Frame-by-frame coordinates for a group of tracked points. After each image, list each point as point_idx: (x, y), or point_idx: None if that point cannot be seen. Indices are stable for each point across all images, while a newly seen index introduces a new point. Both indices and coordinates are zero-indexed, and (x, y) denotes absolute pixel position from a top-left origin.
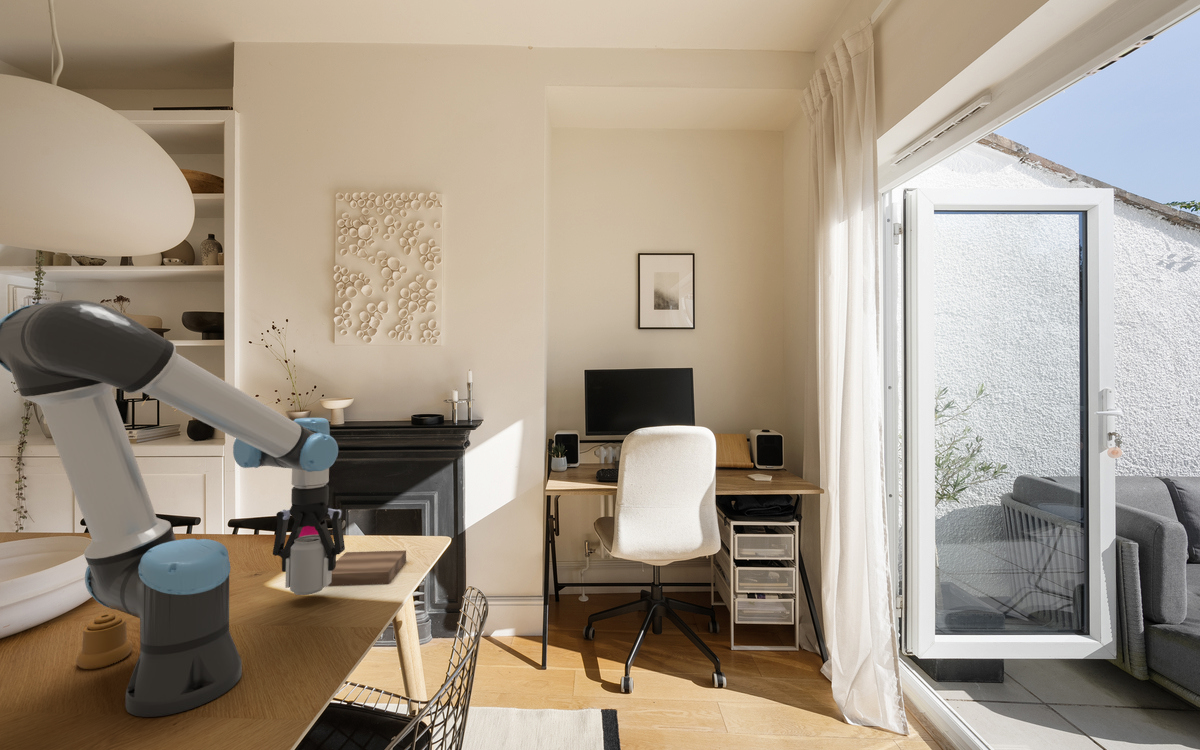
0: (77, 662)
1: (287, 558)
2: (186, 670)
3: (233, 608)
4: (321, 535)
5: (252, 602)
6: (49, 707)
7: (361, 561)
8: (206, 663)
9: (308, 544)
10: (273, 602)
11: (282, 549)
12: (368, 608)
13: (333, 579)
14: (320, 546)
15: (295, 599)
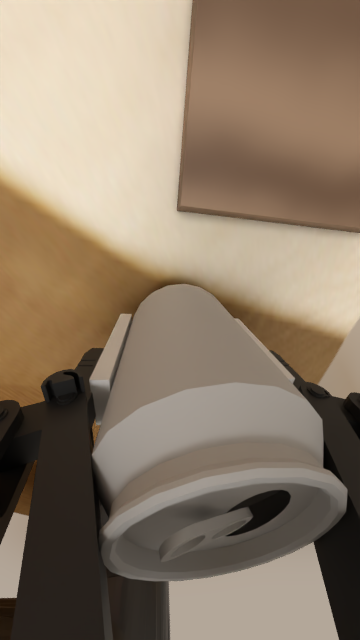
0: None
1: (100, 420)
2: None
3: (13, 329)
4: (348, 603)
5: (34, 301)
6: (25, 502)
7: (345, 13)
8: None
9: (232, 544)
10: (93, 308)
11: (26, 446)
12: (296, 358)
13: (219, 212)
14: (284, 491)
15: (140, 298)
